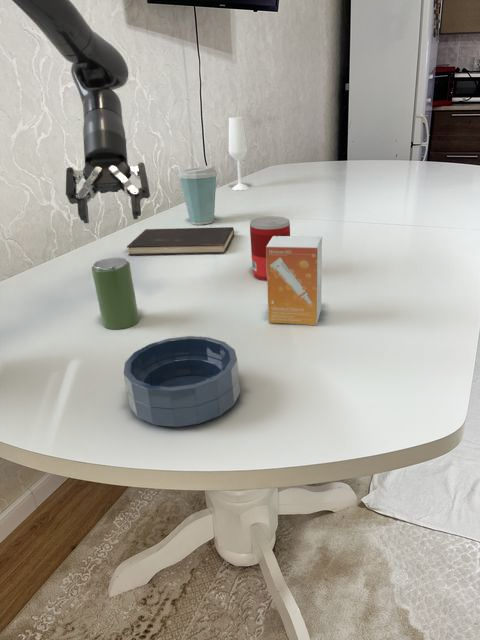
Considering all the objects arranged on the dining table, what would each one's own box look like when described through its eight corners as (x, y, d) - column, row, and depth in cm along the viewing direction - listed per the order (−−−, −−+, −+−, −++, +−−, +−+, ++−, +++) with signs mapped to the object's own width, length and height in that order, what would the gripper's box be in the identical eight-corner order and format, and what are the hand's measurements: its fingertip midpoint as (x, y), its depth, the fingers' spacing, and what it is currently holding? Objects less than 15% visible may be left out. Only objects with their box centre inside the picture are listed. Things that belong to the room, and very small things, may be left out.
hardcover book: (224, 254, 121) (224, 244, 120) (128, 255, 123) (126, 246, 122) (234, 235, 135) (233, 226, 134) (147, 237, 137) (146, 228, 136)
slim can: (101, 331, 86) (88, 270, 81) (104, 317, 91) (93, 258, 86) (138, 327, 87) (127, 266, 82) (139, 313, 92) (130, 255, 87)
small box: (268, 324, 85) (264, 246, 79) (275, 308, 91) (272, 234, 85) (317, 326, 84) (317, 246, 78) (322, 310, 89) (322, 235, 83)
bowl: (128, 437, 60) (119, 397, 57) (134, 378, 72) (127, 342, 69) (246, 421, 61) (243, 381, 59) (232, 366, 73) (229, 331, 71)
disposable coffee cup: (181, 227, 144) (175, 171, 138) (185, 218, 154) (179, 165, 147) (220, 225, 145) (215, 169, 138) (221, 216, 154) (217, 163, 147)
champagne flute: (240, 190, 188) (235, 118, 177) (227, 189, 193) (222, 118, 182) (253, 187, 193) (249, 116, 182) (240, 186, 197) (235, 116, 186)
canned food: (279, 283, 102) (277, 227, 97) (245, 277, 106) (241, 223, 101) (298, 271, 108) (297, 218, 103) (264, 266, 111) (262, 214, 106)
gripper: (59, 130, 92) (62, 210, 87) (141, 125, 94) (149, 203, 89) (70, 158, 99) (74, 233, 94) (146, 153, 101) (154, 227, 96)
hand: (110, 219), depth 92 cm, fingers open, 8 cm apart
